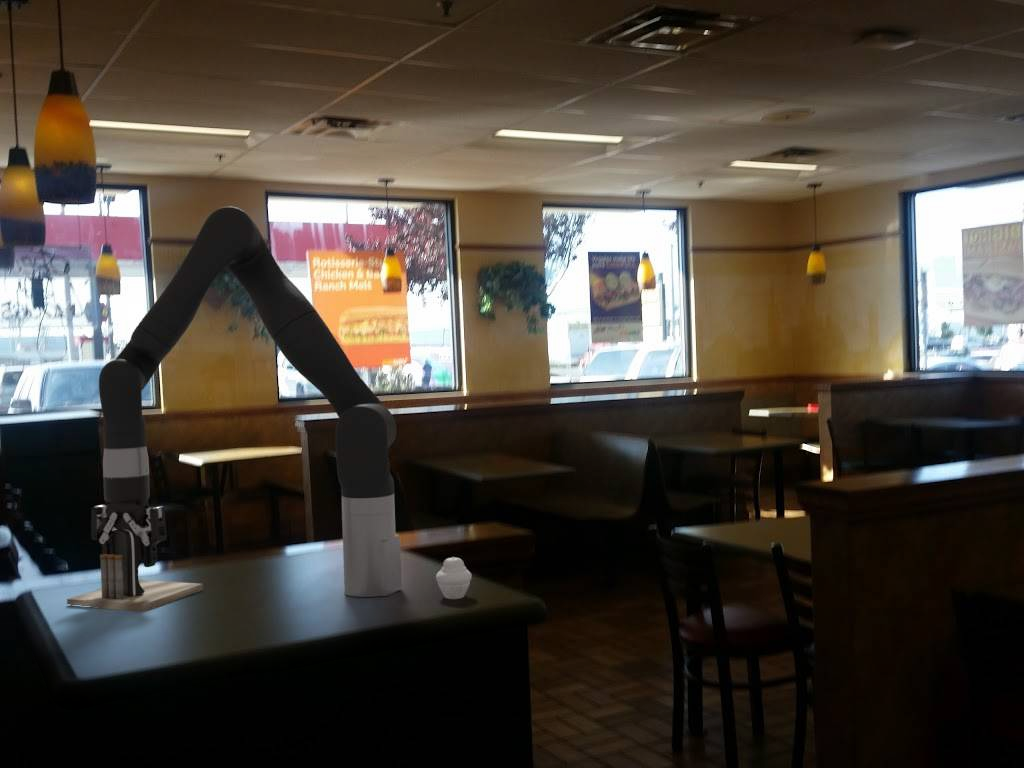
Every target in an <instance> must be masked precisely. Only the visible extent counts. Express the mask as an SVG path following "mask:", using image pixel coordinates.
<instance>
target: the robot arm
mask: <svg viewBox="0 0 1024 768" xmlns="http://www.w3.org/2000/svg"><path fill="white" fill-rule="evenodd" d="M225 268H227V269H228V270H229V271H230V273H231V274H232V275H233V276H234V277H235V279H237V281H238V282H239V283H240V285H242V286H241V287H243V288H244V289H245V291H246V292H247V294H248V295H249V297H250V299H251V301H252V303H253V304H254V307H255V309H256V311H257V313H258V316H259V317H260V320H261V322H262V324H263V325H264V328H265V329H266V330H267V333H268V334H269V336H270V338H271V339H272V341H273V342H274V344H275V345H276V346H277V348H278V349H279V350H280V352H281V353H282V355H283V356H284V358H285V359H286V361H288V362H289V364H290V365H291V366H292V367H293V368H294V369H295V370H296V371H297V372H298V373H299V374H300V375H301V376H302V377H304V378H305V379H306V380H307V381H308V382H310V384H311V385H312V386H314V387H315V388H316V389H317V390H318V392H320V393H321V394H322V395H323V396H324V397H325V399H326V400H327V401H328V403H329V404H330V406H331V407H332V408H333V410H334V412H335V413H336V415H337V417H338V420H337V422H336V426H335V437H334V438H335V454H336V456H335V458H336V472H337V478H338V481H339V484H340V487H341V488H340V489H341V490H340V492H341V520H342V522H341V523H342V524H341V525H342V527H341V528H342V553H343V554H342V556H343V584H344V595H347V596H349V597H350V596H351V597H356V598H360V597H361V598H370V597H371V598H373V597H387V596H389V595H392V594H393V593H396V592H397V591H400V590H402V587H403V586H402V585H403V584H402V560H401V558H402V556H401V537H400V535H396V516H395V515H396V513H395V512H396V511H395V509H396V508H395V505H396V503H395V481H394V478H393V476H392V474H391V471H390V464H389V463H390V461H389V448H390V447H391V446H392V444H393V443H394V441H395V438H396V435H397V425H396V421H395V418H394V416H393V415H392V413H391V411H390V410H389V409H388V407H387V406H386V405H385V404H384V403H383V402H382V401H381V399H379V397H377V395H376V394H375V393H374V392H373V390H372V389H371V388H370V387H369V386H368V384H366V383H365V381H364V380H363V378H361V376H360V375H359V374H358V372H357V370H356V369H355V367H354V366H353V364H352V363H351V361H350V359H349V358H348V356H347V354H346V353H345V351H344V349H343V348H342V346H341V345H340V344H339V342H338V340H337V339H336V337H335V336H334V335H333V333H332V331H331V330H330V328H329V326H328V325H327V324H326V322H325V321H324V320H323V318H322V317H321V316H320V314H319V313H318V311H317V310H316V309H315V307H314V306H313V304H311V302H310V301H309V300H308V298H307V296H305V295H304V294H303V293H302V292H301V290H300V289H299V288H298V287H297V286H296V285H295V284H294V282H293V281H291V280H290V279H289V278H288V276H287V275H286V274H285V273H284V271H283V270H282V269H281V268H280V265H279V264H278V263H277V261H276V259H275V257H274V256H273V254H272V251H270V248H269V246H268V244H267V243H266V241H265V239H264V238H263V235H262V234H261V231H260V229H259V227H258V226H257V224H256V223H255V222H254V220H253V219H252V218H251V216H250V215H249V214H248V213H247V212H246V211H244V210H243V209H241V208H240V207H235V206H231V205H230V206H222V207H219V208H217V209H215V210H214V211H213V212H212V213H210V214H209V216H208V217H207V218H206V220H205V221H204V223H203V225H202V227H201V228H200V230H199V233H198V234H197V236H196V238H195V240H194V242H193V244H192V246H191V248H190V249H189V251H188V253H187V255H186V257H185V258H184V260H183V262H181V264H180V266H179V268H178V270H177V271H176V273H175V274H174V276H173V277H172V279H171V280H170V282H169V283H168V284H167V286H165V289H164V290H163V291H162V293H161V294H160V296H159V297H158V298H157V300H156V301H155V302H154V303H153V304H152V306H151V307H150V309H149V310H148V311H147V312H146V314H145V315H144V317H142V319H141V320H140V321H139V323H138V324H137V326H136V327H135V329H134V330H133V331H132V334H131V337H130V340H129V341H128V342H127V344H126V345H125V347H124V348H123V349H122V351H120V353H119V354H118V355H117V357H116V358H115V359H113V360H110V361H109V362H107V363H106V364H105V365H104V366H103V367H102V369H101V371H100V372H99V376H98V391H99V401H100V406H101V413H102V418H103V431H102V432H103V435H102V436H103V457H102V470H103V471H102V472H103V477H102V479H103V499H104V502H106V504H98V505H95V506H92V507H91V512H90V513H91V515H90V516H91V517H90V519H91V523H90V526H91V527H90V532H91V533H90V539H91V540H93V541H95V540H96V541H97V542H99V543H100V544H101V552H102V553H101V554H108V555H109V554H113V543H112V535H113V532H114V530H123V529H127V530H133V531H134V533H135V535H136V536H138V537H140V539H141V540H142V542H143V543H144V545H145V546H143V554H144V559H143V567H145V568H151V567H155V565H156V563H157V561H158V543H161V542H162V541H166V540H167V524H166V511H165V507H164V506H163V505H160V506H156V507H150V505H149V503H148V502H149V498H150V497H151V493H150V492H151V488H150V486H151V484H150V464H149V463H150V462H149V461H150V460H149V459H150V458H149V453H148V448H147V426H146V419H145V417H144V415H143V400H142V399H143V397H142V391H143V390H144V389H145V388H146V386H147V385H148V383H149V382H150V381H151V379H152V378H153V376H154V375H155V372H156V371H157V369H158V368H159V366H160V364H161V363H162V362H163V360H164V359H165V357H166V356H167V355H168V354H169V353H170V352H171V351H172V350H173V348H174V347H175V346H176V344H178V342H179V340H180V339H181V338H182V336H183V335H184V334H185V333H186V331H187V329H188V328H189V327H190V325H191V323H192V321H193V320H194V318H195V317H196V314H197V313H198V310H199V308H200V306H201V303H202V302H203V300H204V298H205V295H206V294H207V292H208V290H209V289H210V287H211V286H212V284H213V283H214V281H215V279H217V277H218V276H219V274H220V273H221V272H222V271H223V270H224V269H225ZM107 518H108V519H109V520H108V521H107Z"/></svg>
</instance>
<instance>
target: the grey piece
mask: <svg viewBox="0 0 1024 768" xmlns="http://www.w3.org/2000/svg"><path fill="white" fill-rule="evenodd" d="M442 565H443V566H442V567H440V569H439V571H438V572H437V573H436V575H435V579H436V582H437V586H438V587H439V590H440V591H441V593H442V594H443V596H444V598H445V599H447V600H458V599H462V598H464V597H465V596H466V593H467V591H468V589H469V587H470V584H471V583H470V582H471V580H472V578H473V577H472V576H473V574H472V573H471V572H470V571H469V569H467V567H466V566H465V563H464V560H462V559H461V558H459V557H455V556H452V557H448V558H446V559H445V560H444V561H443V563H442Z"/></svg>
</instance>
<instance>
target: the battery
mask: <svg viewBox="0 0 1024 768" xmlns="http://www.w3.org/2000/svg"><path fill="white" fill-rule="evenodd" d="M112 543H113V554H115V555H122V569H123V595H126V596H135V595H139V594H143V593H144V592H145V591H144V589H143V588H142V587H141V586H140V583H139V580H140V578H139V566H140V565H141V564H142V560H144V554H143V546H145V545H144V543H143V542H142V540H141V539H140V537H138V536H136V535H135V533H134V531H133V530H127V529H123V530H114V532H113V535H112Z"/></svg>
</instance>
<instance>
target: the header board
mask: <svg viewBox="0 0 1024 768" xmlns="http://www.w3.org/2000/svg"><path fill="white" fill-rule="evenodd" d="M99 559H100V580H101V581H100V584H101V588H99V589H96V590H92V591H89V592H85V593H82V594H79V595H76V596H73V597H69V598H67V599H66V605H67V604H71V605H81V606H90V607H98V608H97V609H101V608H106V609H105V610H115V609H116V610H118V611H131V612H146V611H148V610H152V609H155V608H157V607H159V606H163V605H165V604H168V603H169V604H170V603H171V602H173V601H177V600H180V599H183V598H185V597H188V596H190V595H193V594H197V593H199V592H202V591H203V590H204V588H203V583H199V582H198V583H193V582H178V581H165V580H164V581H163V580H161V581H160V580H145V579H139V583H140V586H141V587H142V588H143V589H144V591H145V592H144V593H143V594H139V595H135V596H126V595H123V569H122V555H115V554H109V555H108V554H102V553H101V554H99Z"/></svg>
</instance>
